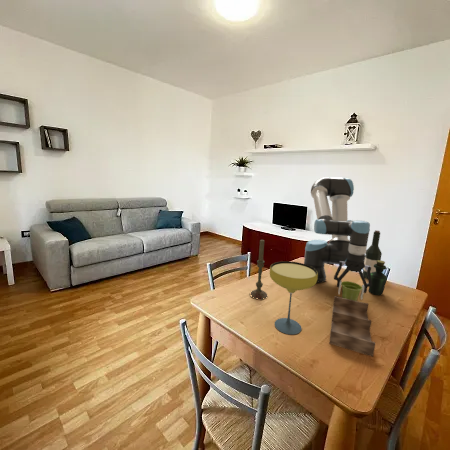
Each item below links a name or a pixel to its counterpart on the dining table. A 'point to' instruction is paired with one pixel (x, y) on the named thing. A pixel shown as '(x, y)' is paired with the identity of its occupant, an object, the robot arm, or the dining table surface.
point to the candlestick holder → (258, 292)
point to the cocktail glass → (292, 288)
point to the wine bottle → (372, 254)
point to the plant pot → (350, 290)
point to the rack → (351, 326)
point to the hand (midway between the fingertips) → (350, 295)
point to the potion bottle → (378, 279)
